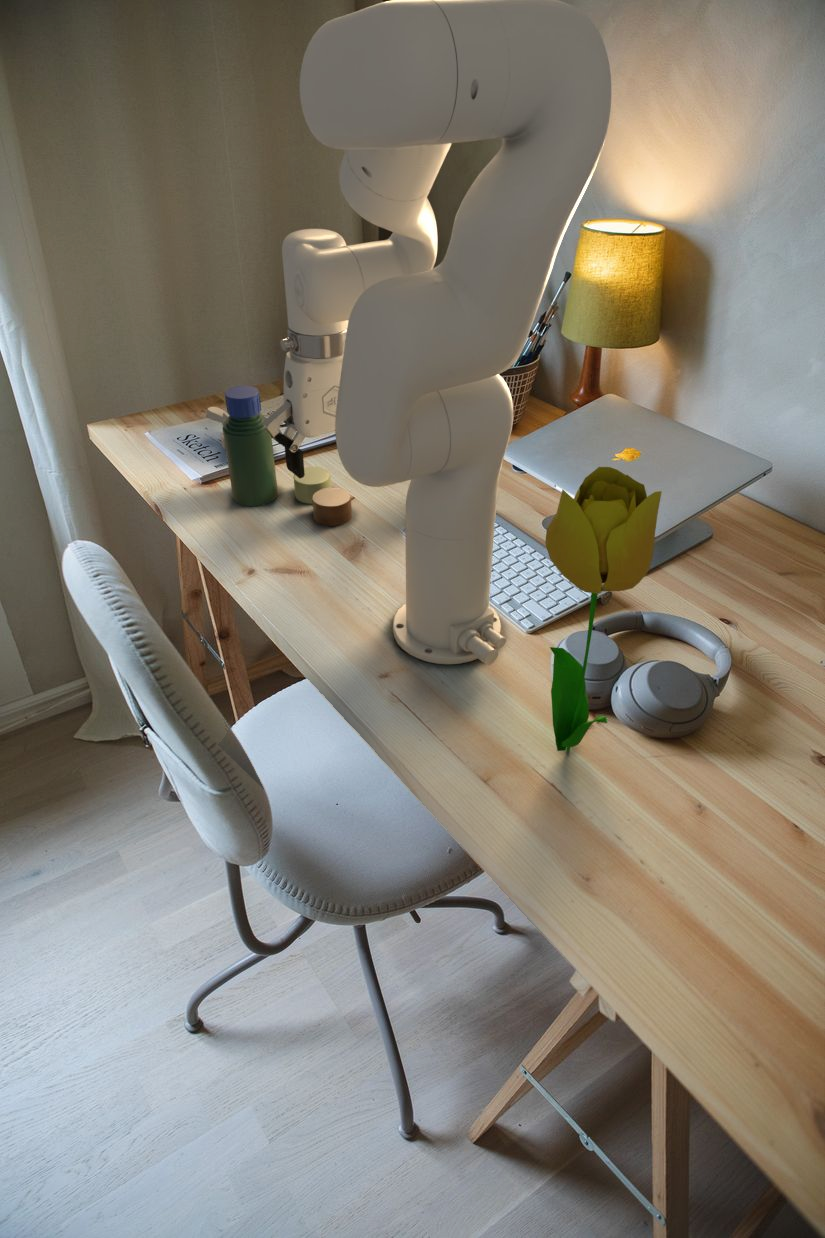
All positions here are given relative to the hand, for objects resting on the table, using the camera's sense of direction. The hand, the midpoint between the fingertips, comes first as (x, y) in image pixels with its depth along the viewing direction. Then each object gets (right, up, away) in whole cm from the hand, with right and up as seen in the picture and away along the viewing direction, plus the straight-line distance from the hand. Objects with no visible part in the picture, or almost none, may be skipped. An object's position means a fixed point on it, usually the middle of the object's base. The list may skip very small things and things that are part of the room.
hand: (327, 463), depth 113 cm
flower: (+27, -34, -31) cm, 54 cm away
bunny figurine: (-16, +8, +24) cm, 30 cm away
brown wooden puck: (0, -7, +5) cm, 8 cm away
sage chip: (-3, -3, +10) cm, 10 cm away
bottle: (-12, -3, +9) cm, 15 cm away
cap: (-12, +9, 0) cm, 15 cm away
